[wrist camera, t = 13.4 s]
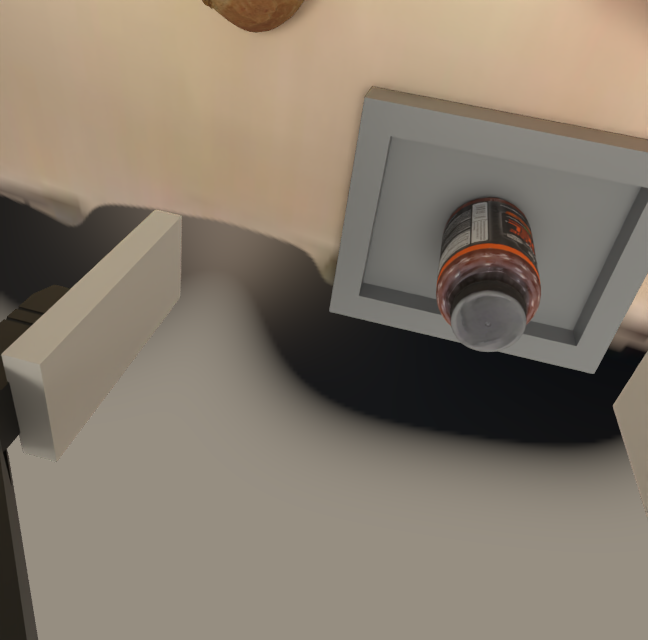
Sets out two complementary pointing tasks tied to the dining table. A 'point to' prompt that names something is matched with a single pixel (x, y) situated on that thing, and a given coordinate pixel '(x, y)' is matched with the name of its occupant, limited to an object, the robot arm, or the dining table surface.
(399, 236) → the tray
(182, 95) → the dining table surface
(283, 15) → the bread roll
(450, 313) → the supplement bottle
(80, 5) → the dining table surface
